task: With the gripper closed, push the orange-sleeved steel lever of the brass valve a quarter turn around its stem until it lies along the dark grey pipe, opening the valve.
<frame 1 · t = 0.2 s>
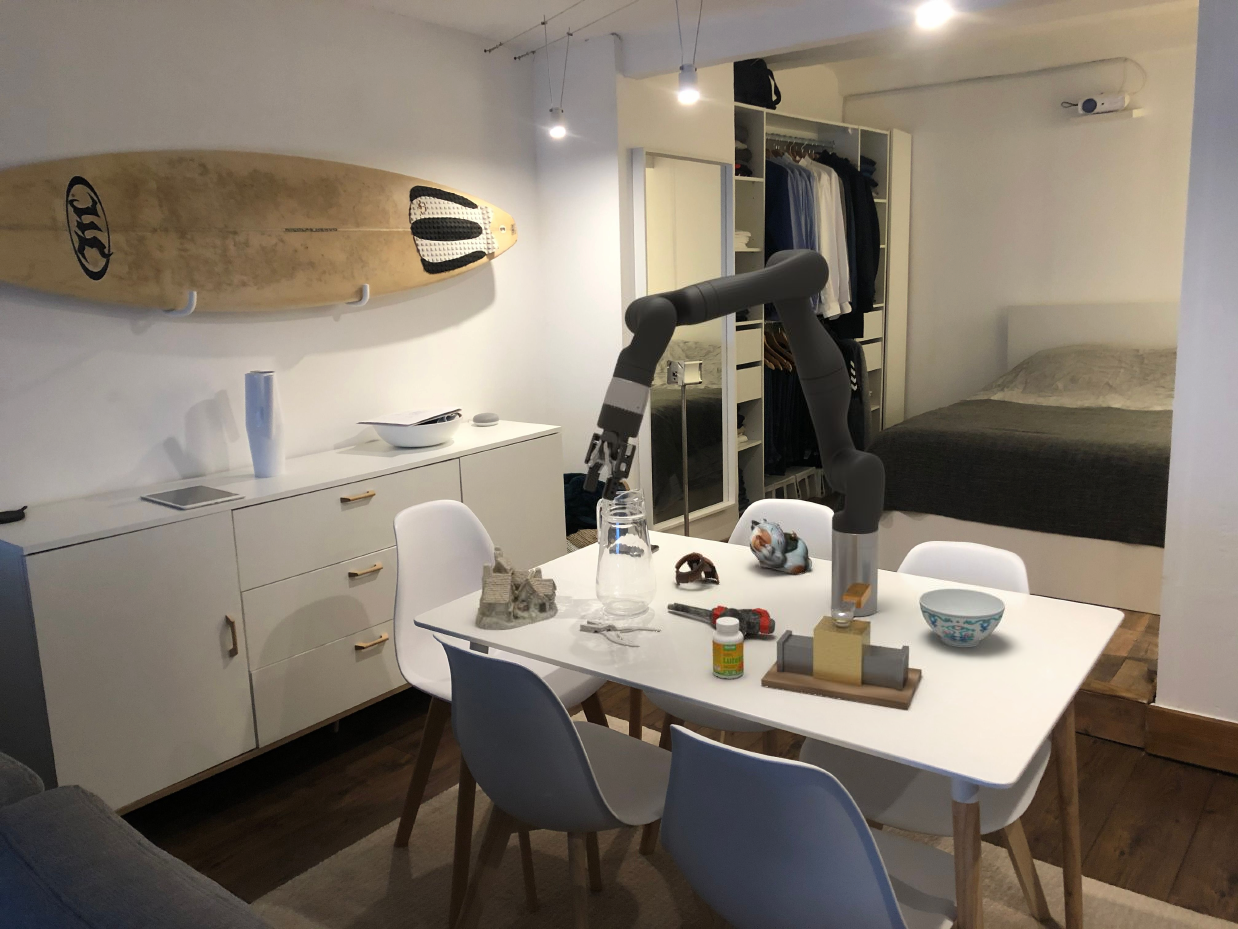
hand: (597, 495, 167), 31 cm above the table, tool tilted 20°, fingers open, 8 cm apart
chinaware: (960, 641, 177), on the table
walnut board: (841, 681, 161), on the table
valve lever: (851, 602, 164), point 12 cm above the table, hinge at 0.0°
valve and pipe: (841, 681, 161), resting on walnut board
supplement bottle: (728, 674, 166), on the table
pottery mug: (697, 584, 216), on the table
pliers: (616, 636, 187), on the table
ceramic cottage: (516, 618, 198), on the table
lucky cat figurine: (780, 569, 224), on the table
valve: (727, 624, 191), on the table
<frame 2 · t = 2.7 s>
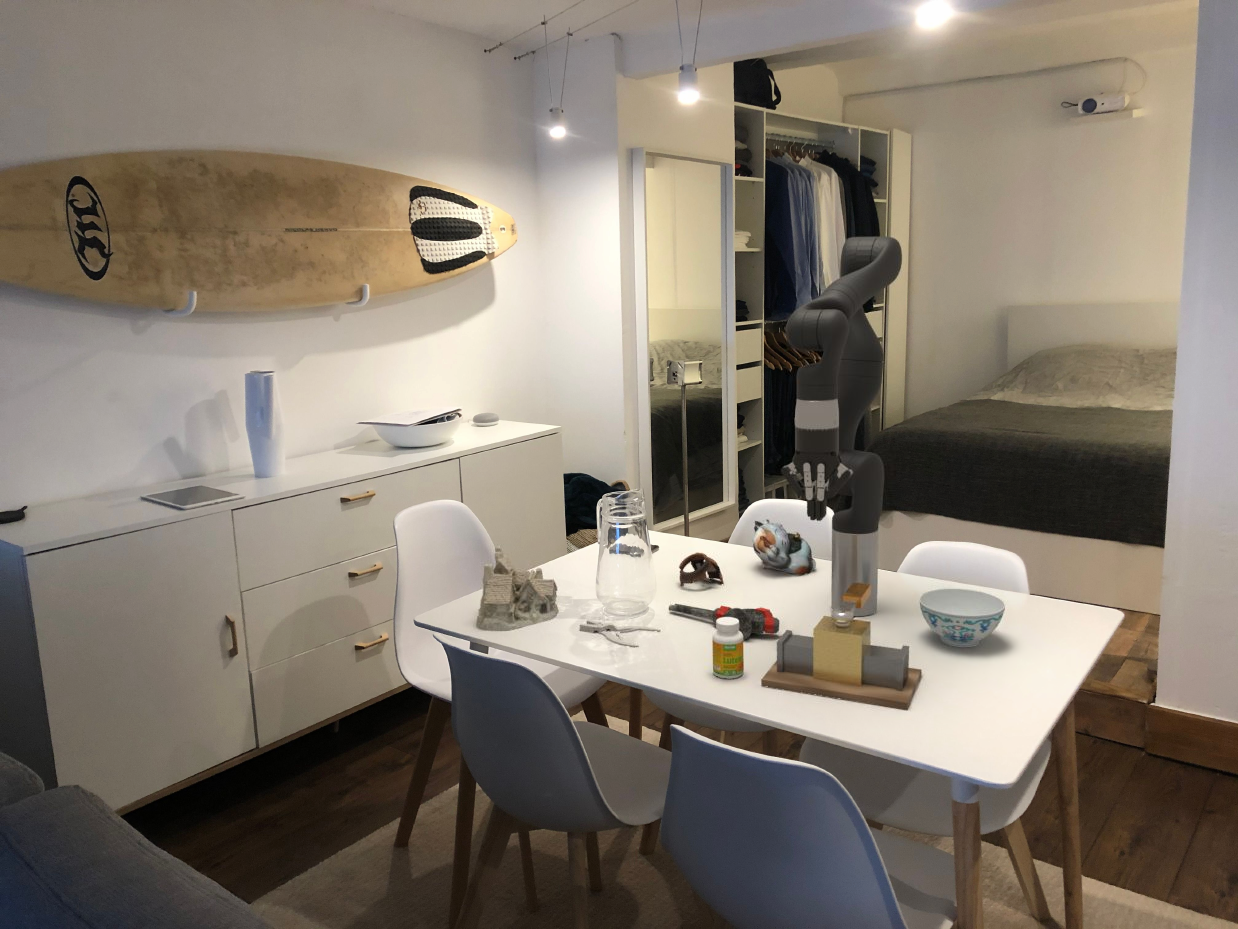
hand: (816, 519, 169), 25 cm above the table, tool pointing down, fingers closed
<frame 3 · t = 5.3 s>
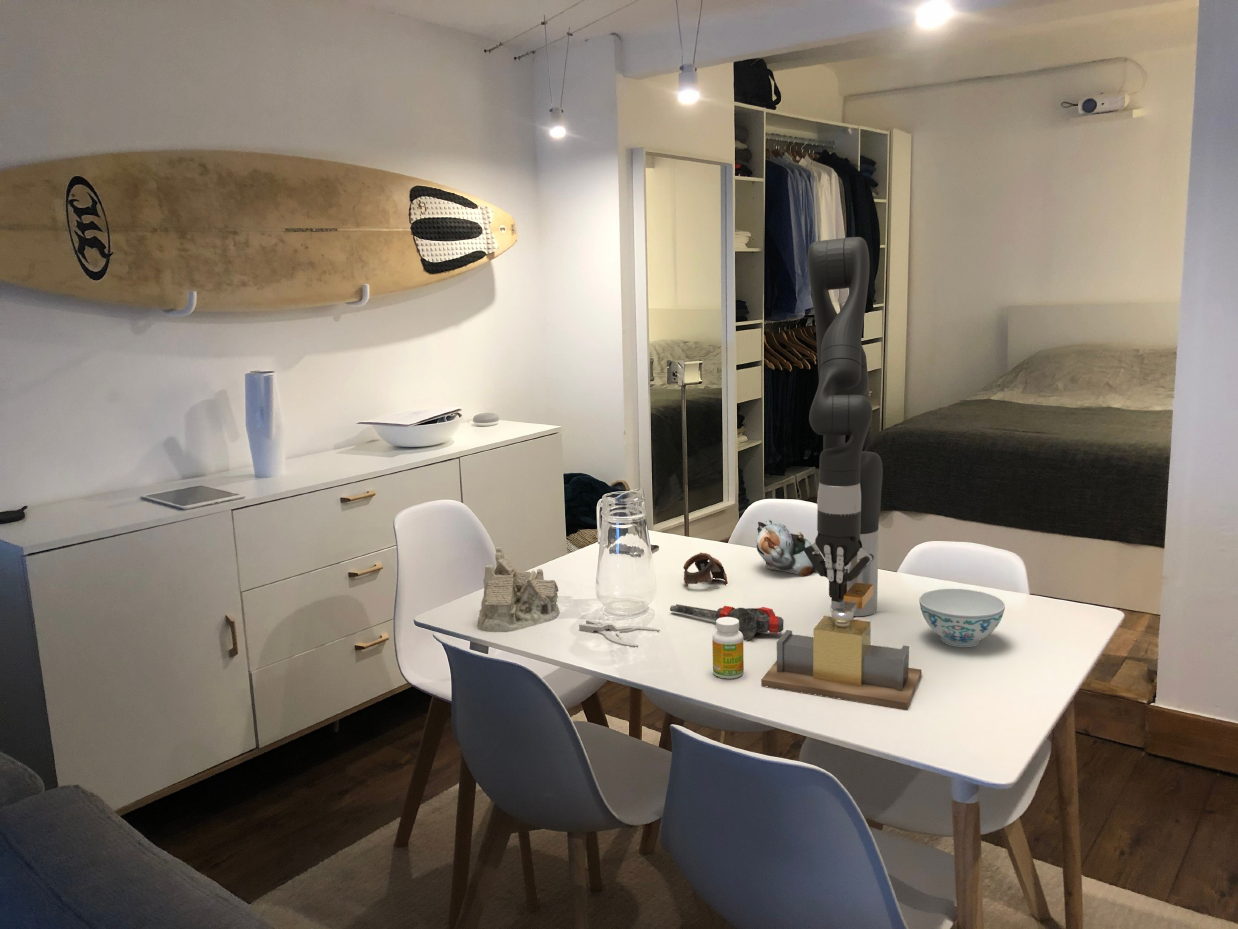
hand: (837, 600, 170), 10 cm above the table, tool pointing down, fingers closed
valve lever: (852, 603, 164), point 12 cm above the table, hinge at 1.5°, touching gripper
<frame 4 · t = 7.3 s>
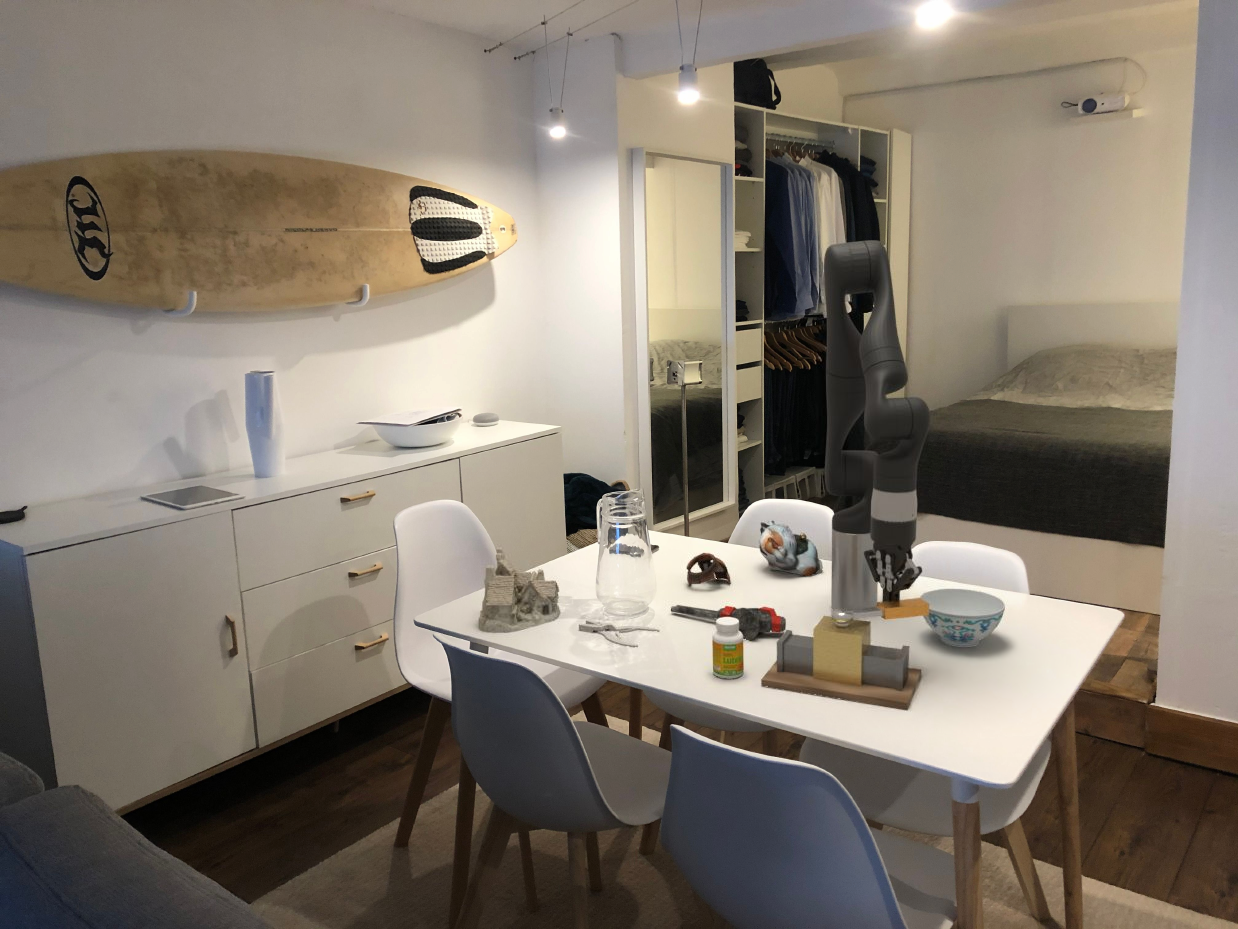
hand: (890, 609, 165), 10 cm above the table, tool pointing down, fingers closed
valve lever: (878, 611, 160), point 12 cm above the table, hinge at 52.2°, touching gripper
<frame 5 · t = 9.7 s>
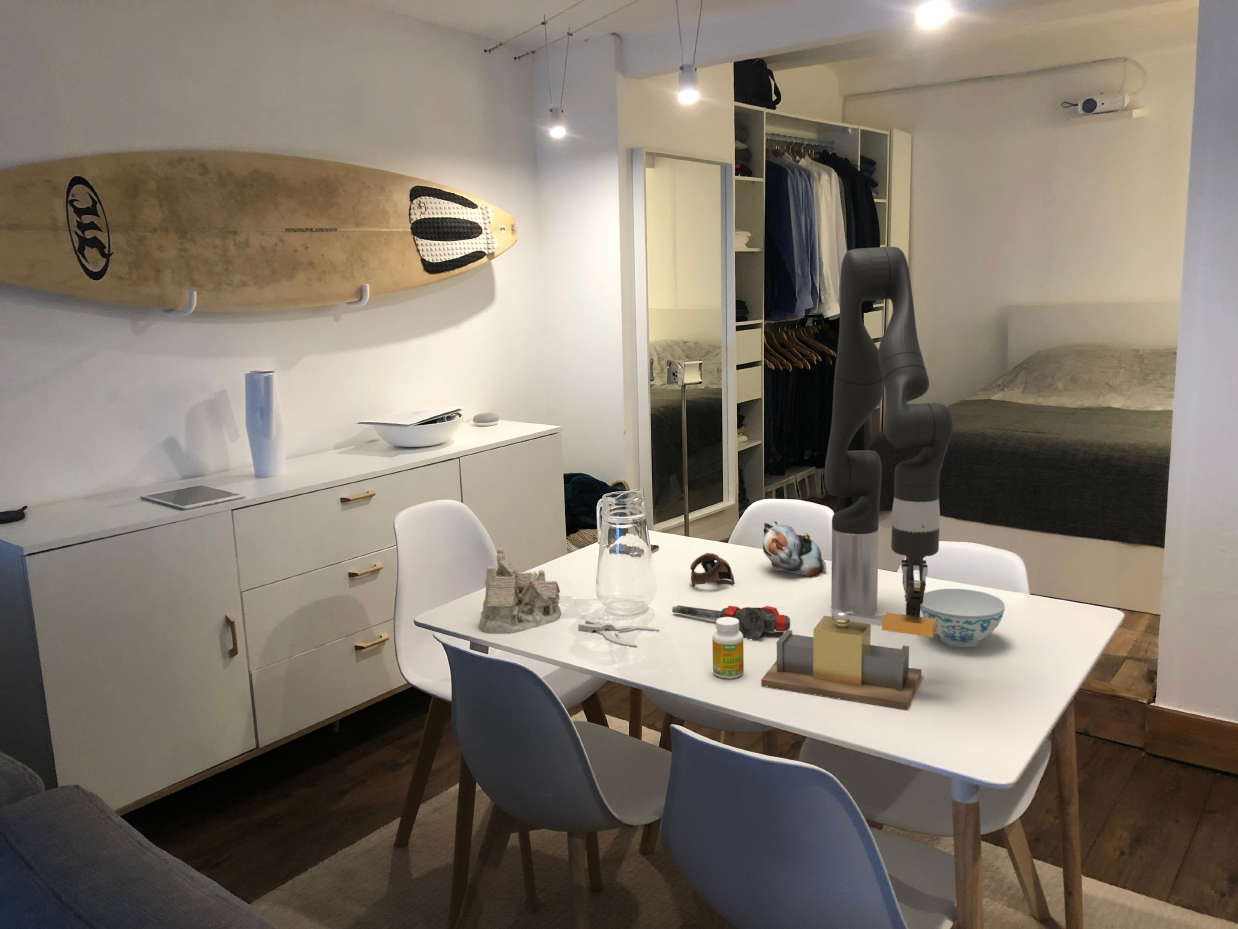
hand: (912, 623, 159), 10 cm above the table, tool pointing down, fingers closed
valve lever: (882, 620, 155), point 12 cm above the table, hinge at 92.6°
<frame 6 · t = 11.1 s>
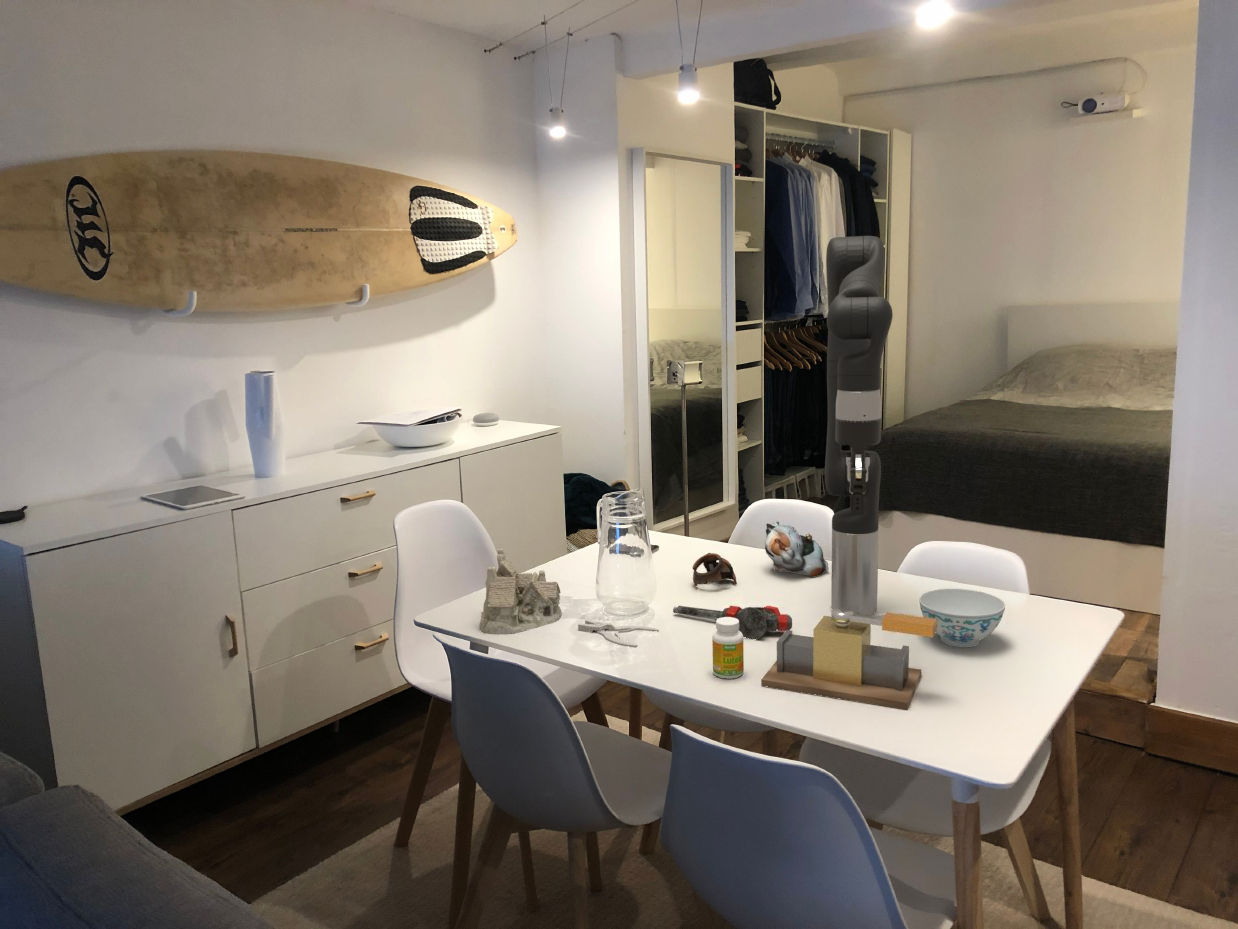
hand: (856, 514, 164), 27 cm above the table, tool pointing down, fingers closed
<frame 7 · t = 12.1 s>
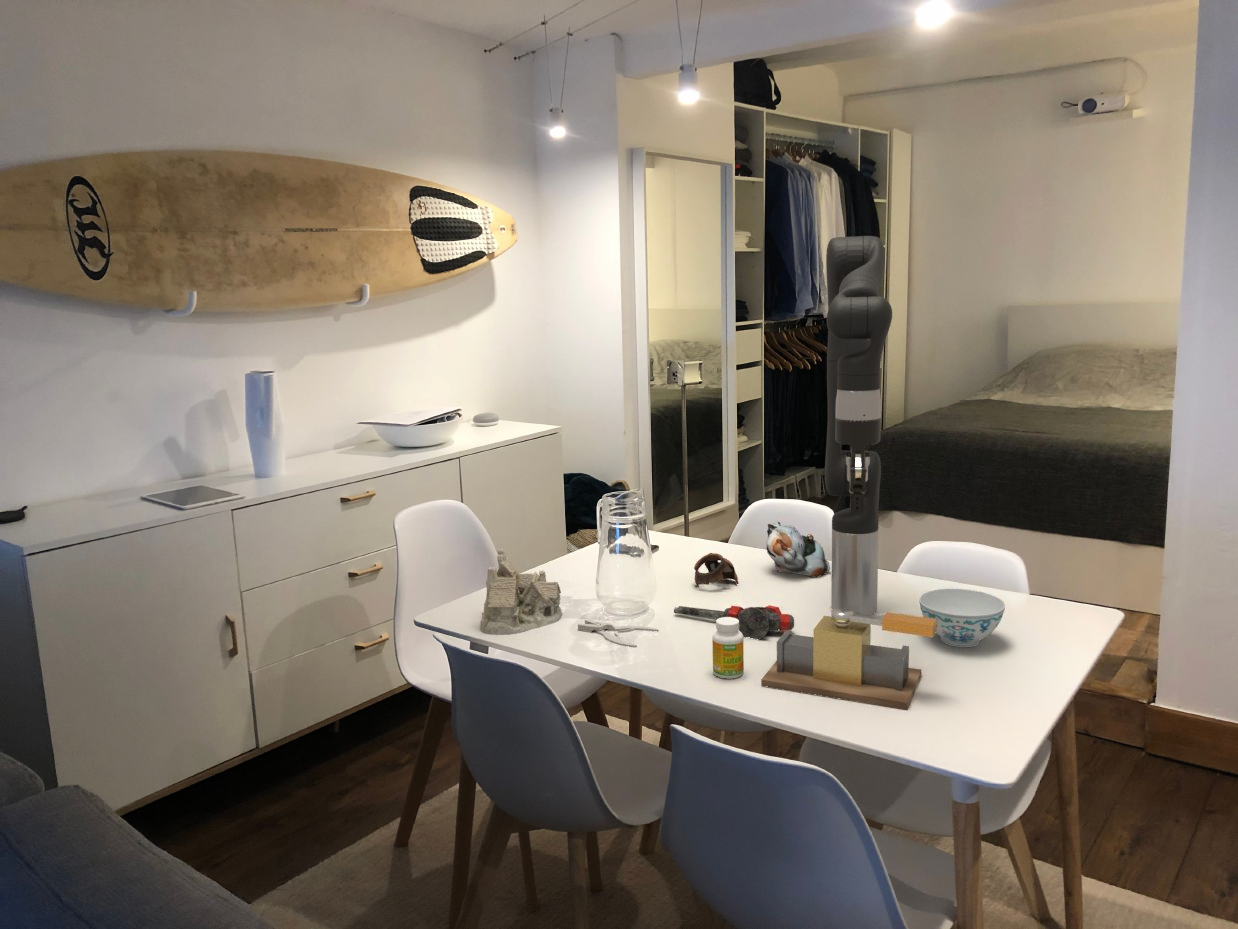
hand: (856, 513, 164), 27 cm above the table, tool pointing down, fingers closed
at the end: valve lever at +93° (first picture: +0°); supplement bottle moved 0.2 cm from its start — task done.
